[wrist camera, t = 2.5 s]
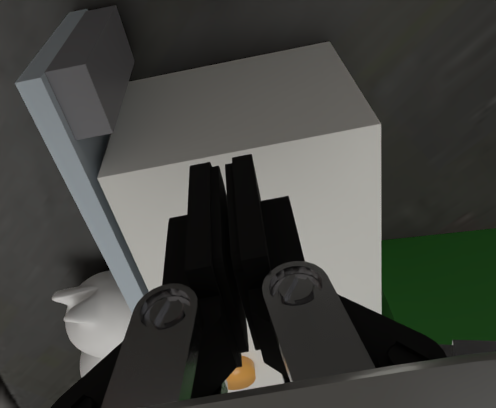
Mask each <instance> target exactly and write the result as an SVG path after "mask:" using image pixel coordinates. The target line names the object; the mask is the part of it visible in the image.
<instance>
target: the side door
mask: <svg viewBox="0 0 496 408" xmlns="http://www.w3.org/2000/svg"><path fill="white" fill-rule="evenodd" d="M134 63H135V60H134V57H133V54H132V51H131V48H130V45H129V42H128V39H127V36H126V33H125V30H124V27H123V24H122V21H121V18H120V15H119V12H118V9H117V6H116V5H114V6H109V7H104V8H99V9H95V10H90V11H88V9H83V10H78V11H74V12H69V13H68V14H67V16H66V17H65V18H64V20H63V21H62V22H61V23H60V25H59V26H58V27H57V29H56V30H55V31H54V33H53V34H52V35H51V36H50V38H49V39H48V40H47V42H46V43H45V44H44V46H43V47H42V48H41V49H40V51H39V52H38V53H37V55H36V56H35V57H34V59H33V60H32V61H31V62H30V64H29V65H28V66H27V68H26V69H25V70H24V72H23V73H22V74H21V75H20V77H19V78H18V79H17V81H16V82H15V85H16V87H17V89H18V90H19V92H20V94H21V96H22V98H23V100H24V102H25V104H26V106H27V108H28V110H29V112H30V114H31V116H32V118H33V120H34V122H35V124H36V126H37V128H38V130H39V132H40V134H41V136H42V138H43V140H44V141H45V143H46V145H47V147H48V149H49V151H50V153H51V155H52V157H53V159H54V161H55V163H56V165H57V167H58V169H59V171H60V173H61V175H62V177H63V179H64V181H65V183H66V185H67V187H68V189H69V191H70V193H71V194H72V196H73V198H74V200H75V202H76V204H77V206H78V208H79V210H80V212H81V214H82V216H83V218H84V220H85V222H86V224H87V226H88V228H89V230H90V232H91V234H92V236H93V238H94V240H95V242H96V244H97V245H98V247H99V249H100V251H101V253H102V255H103V257H104V259H105V261H106V263H107V265H108V267H109V269H110V271H111V273H112V275H113V277H114V279H115V281H116V283H117V285H118V287H119V289H120V291H121V293H122V295H123V297H124V298H125V300H126V302H127V304H128V306H129V308H130V310H131V312H132V313H133V310H134V308H135V306H136V304H137V302H138V301H139V300H140V299H141V298H142V297H143V296H144V295H145V294H146V293H148V292H149V291H148V289H147V286H146V284H145V282H144V280H143V278H142V275H141V273H140V271H139V269H138V267H137V264H136V262H135V260H134V258H133V256H132V253H131V251H130V249H129V247H128V245H127V243H126V240H125V238H124V236H123V234H122V232H121V229H120V227H119V225H118V223H117V221H116V218H115V216H114V214H113V212H112V210H111V207H110V205H109V203H108V201H107V199H106V196H105V194H104V192H103V190H102V188H101V185H100V183H99V181H98V179H97V177H98V174H99V171H100V168H101V164H102V161H103V160H102V158H103V155H104V152H105V148H106V145H107V142H108V139H109V136H110V134H111V133H113V131H114V128H115V125H116V122H117V118H118V115H119V112H120V109H121V105H122V102H123V99H124V95H125V92H126V89H127V86H128V82H129V79H130V76H131V72H132V69H133V66H134Z"/></svg>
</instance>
